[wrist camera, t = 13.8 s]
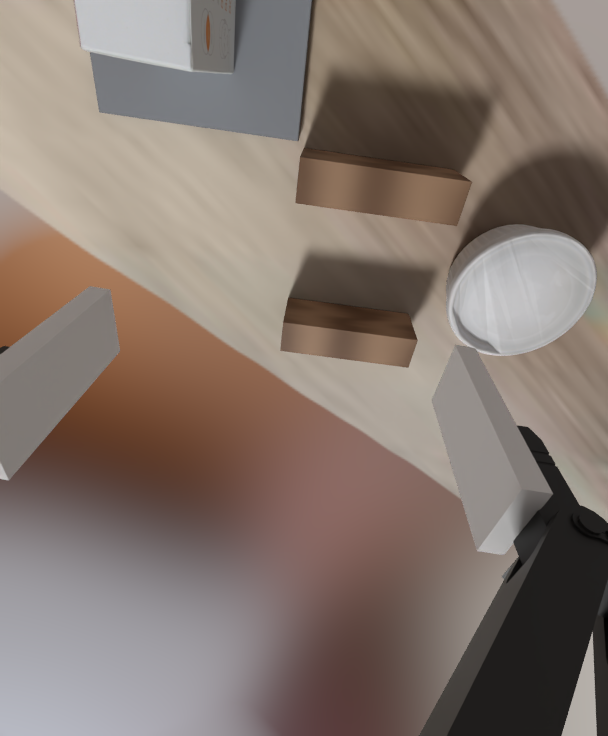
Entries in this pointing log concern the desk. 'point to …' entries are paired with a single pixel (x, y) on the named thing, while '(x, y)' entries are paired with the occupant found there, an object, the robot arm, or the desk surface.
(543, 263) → the ramekin
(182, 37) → the small box
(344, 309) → the walnut crossbar stand
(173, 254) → the desk surface
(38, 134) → the desk surface
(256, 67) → the slate grey mat
